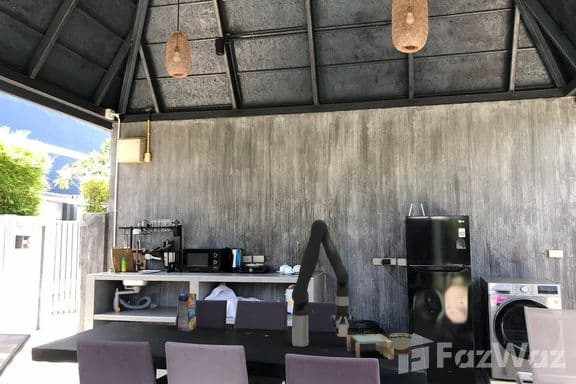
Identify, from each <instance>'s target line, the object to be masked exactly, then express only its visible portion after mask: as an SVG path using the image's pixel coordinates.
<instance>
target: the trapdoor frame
mask: <svg viewBox="0 0 576 384" xmlns="http://www.w3.org/2000/svg"><path fill="white" fill-rule="evenodd" d="M370 335H377V336H379V337H380V338H382V339H383V340H385V343H375V350H376V351H377V352H378V351H379V354H381V355H382V354H383V355H382V356H383V357H384V358H386V357H387V358H388V359H387V358H386V359H387V360H395V354H394V342H393V341H391V339H389V337H387V336H385V335H383V334H381V333H375V334H373V333H372V334H370V333H369V334H347V337H346V352H351V350H352V349H351V348H352V346H351V345H352V343H351V339H353V338H352V336H370ZM360 348H361V347H360V344H359V342H357V341H355V359H356V358H360V359H361V354H360V353H361V351H360Z"/></svg>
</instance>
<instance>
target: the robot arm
mask: <svg viewBox="0 0 576 384" xmlns="http://www.w3.org/2000/svg"><path fill="white" fill-rule="evenodd" d="M330 235H331V234H330V232H329V228H328V224H327V222H325V221H324V220H323V219H316V220H314V221H313V222H312V223H311V228H310V234H309V239H308V242H307V244H306V247H305V249H304V252H303V256H302V258H301V263H300V267H299V270H298V276H297V279H296V281H295V284H294V287H293V290H292V293H291V300H292V301H293V308H292V327H291V345H292V346H293V347H307V346H308V345H309V306H310V305H309V301H310V300H309V298H310V297H309V285H310V282H311V279H312V277H313V275H314V273H315V272H316V269H317V265H318V261H319V257H320V251H321V244H322V247H323V249H324V253H325V256H326V257H327V260H328V262H329V264H330V266H331V268H332V270H333V273H334V275H335V278H336V292H335V294H336V296H335V297H336V298H335V314H334V315H331V316H330V320H331V325H332V327H334V329H335V331H334V332H335V334H336V335H337V334H338V326H339V324H340V323H344V324H346V325H347V335H349V333H350V328H351V327H353V324H354V319H355V317H354V316H353V315H350V313H349V312H350V311H349V310H350V304H349V302H350V301H349V273H348V271H347V269H346V267H345V266H344V265H345V264H343V260H342V258H341V256H340V253H339V252H338V250H337V247H336V246H335V244H334V242H333V240H332V238H331V236H330ZM335 319H336V321H335ZM348 319H349V321H348Z"/></svg>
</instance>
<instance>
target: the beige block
mask: <svg viewBox="0 0 576 384" xmlns="http://www.w3.org/2000/svg"><path fill="white" fill-rule="evenodd" d="M347 335H348V334H347V325H346V324H345V323H341V324H339V326H338V334H336V336H337V337H340V338H343V337H345V338H347Z"/></svg>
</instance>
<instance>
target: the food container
mask: <svg viewBox="0 0 576 384" xmlns="http://www.w3.org/2000/svg"><path fill="white" fill-rule="evenodd" d="M388 339H390V340H391V341H393V342H394V355H410V354H411V343H412V339H413V337H412V335H411V334H410V333H404V332H393V333H390V334H389V336H388Z"/></svg>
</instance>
